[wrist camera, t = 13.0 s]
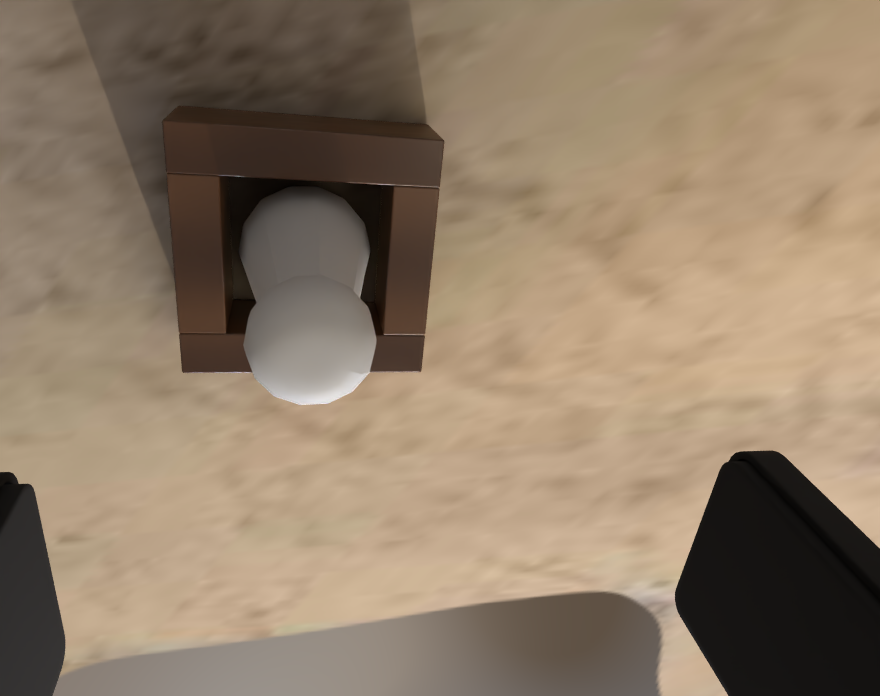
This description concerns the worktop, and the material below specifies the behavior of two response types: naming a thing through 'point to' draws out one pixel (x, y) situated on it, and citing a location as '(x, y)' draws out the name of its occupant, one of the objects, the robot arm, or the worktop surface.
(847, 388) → the worktop surface
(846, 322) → the worktop surface
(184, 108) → the holder
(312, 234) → the salt shaker
